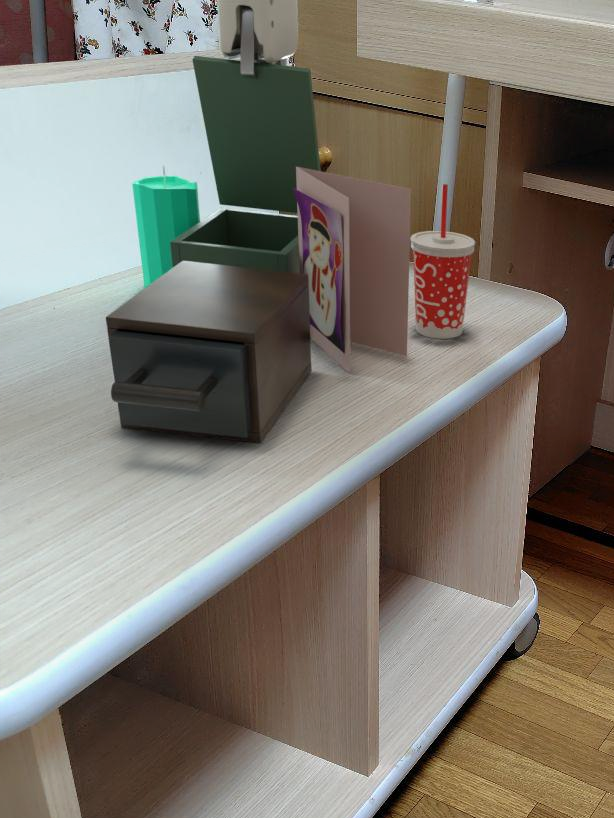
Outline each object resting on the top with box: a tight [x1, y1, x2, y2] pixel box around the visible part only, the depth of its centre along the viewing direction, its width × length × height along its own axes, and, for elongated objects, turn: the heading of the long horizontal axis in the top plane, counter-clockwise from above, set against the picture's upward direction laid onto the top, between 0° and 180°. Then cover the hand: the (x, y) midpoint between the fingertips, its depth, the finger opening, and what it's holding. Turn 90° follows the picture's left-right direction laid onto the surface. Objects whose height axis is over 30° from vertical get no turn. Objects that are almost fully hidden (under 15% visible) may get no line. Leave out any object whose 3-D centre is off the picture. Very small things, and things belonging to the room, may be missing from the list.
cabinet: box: [105, 261, 312, 444], centre depth 78 cm, size 15×11×9 cm
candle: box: [132, 165, 201, 289], centre depth 99 cm, size 6×6×12 cm
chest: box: [170, 207, 300, 274], centre depth 97 cm, size 14×11×8 cm
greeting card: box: [292, 167, 412, 374], centre depth 88 cm, size 11×7×15 cm, turn 33°
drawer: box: [107, 331, 252, 438], centre depth 75 cm, size 18×9×7 cm, turn 176°
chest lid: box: [191, 55, 322, 214], centre depth 95 cm, size 14×11×1 cm
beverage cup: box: [410, 183, 476, 340], centre depth 94 cm, size 6×6×14 cm
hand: (268, 138), depth 96 cm, fingers closed
